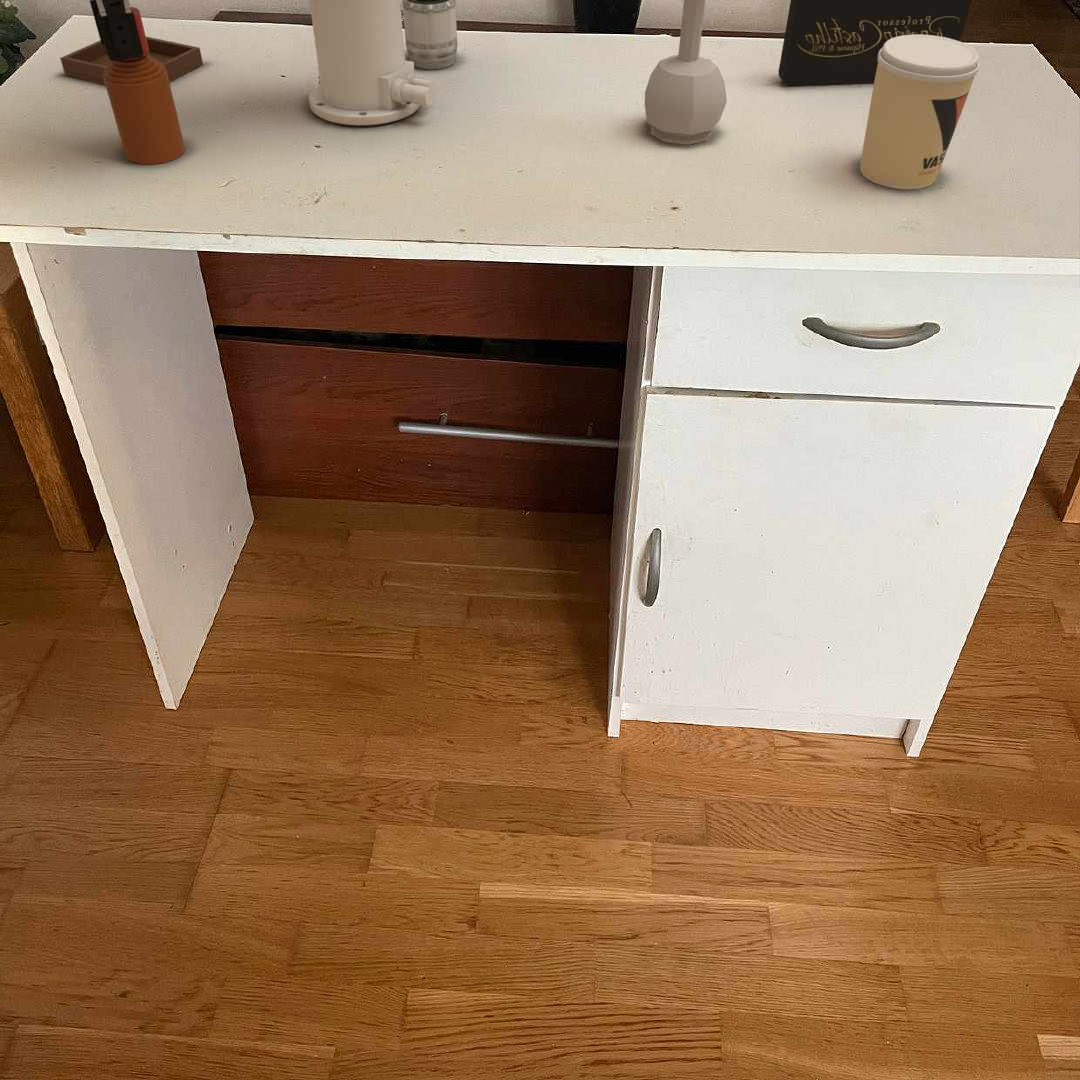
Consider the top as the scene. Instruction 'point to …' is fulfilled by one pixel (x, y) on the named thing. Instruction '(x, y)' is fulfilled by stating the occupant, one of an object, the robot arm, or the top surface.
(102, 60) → the tray
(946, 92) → the coffee cup
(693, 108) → the potion bottle
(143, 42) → the cap
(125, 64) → the bottle
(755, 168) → the top surface
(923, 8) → the nameplate
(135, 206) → the top surface
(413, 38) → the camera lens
